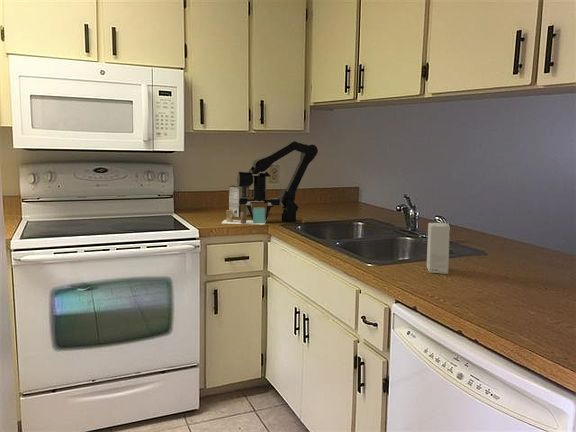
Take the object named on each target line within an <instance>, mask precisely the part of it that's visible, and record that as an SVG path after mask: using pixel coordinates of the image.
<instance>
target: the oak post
mask: <svg viewBox="0 0 576 432" xmlns="http://www.w3.org/2000/svg"><path fill="white" fill-rule="evenodd" d="M225 216H226V217H225V218H226V219H225V220H226V222H232V221H233V220H234V218H233V217H234V216H233V210H229V209H226V215H225Z"/></svg>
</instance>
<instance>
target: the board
mask: <svg viewBox="0 0 576 432" xmlns="http://www.w3.org/2000/svg"><path fill="white" fill-rule="evenodd" d="M266 222H267V220H265V223H253V220H252V219H251V220H247V219H246V224H245V225H261V226H262V225H266ZM221 224H227V225H229V224H230V225H231V224H233V225H236V224H237V225H242V224H241V219H233V221H232V222H226V219H224V220H223V221H222V222H221Z"/></svg>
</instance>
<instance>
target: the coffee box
mask: <svg viewBox="0 0 576 432" xmlns="http://www.w3.org/2000/svg"><path fill="white" fill-rule="evenodd" d="M228 189H229V190H228V199H229V200H228V208H229V209H228V210H233V217H236V218H241V212H246V216H250V212H249V210H248V208H247V206H245V205H244V204H239V199H240V198H241V197H248V198H249V199H250V186H238V185H237V184H233V185H232V184H231V185H228Z"/></svg>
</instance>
